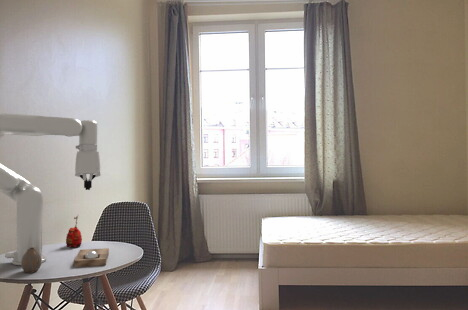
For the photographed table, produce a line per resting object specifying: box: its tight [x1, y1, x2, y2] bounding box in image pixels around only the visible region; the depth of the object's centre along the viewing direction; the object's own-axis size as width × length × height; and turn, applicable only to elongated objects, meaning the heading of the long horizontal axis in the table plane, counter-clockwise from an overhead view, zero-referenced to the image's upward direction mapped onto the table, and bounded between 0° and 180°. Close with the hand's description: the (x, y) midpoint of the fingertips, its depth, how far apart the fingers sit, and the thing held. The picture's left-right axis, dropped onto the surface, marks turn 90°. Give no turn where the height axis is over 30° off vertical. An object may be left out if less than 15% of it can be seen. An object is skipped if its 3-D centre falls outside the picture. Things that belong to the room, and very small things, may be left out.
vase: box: [20, 248, 42, 273], centre depth 154 cm, size 7×7×9 cm
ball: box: [85, 251, 98, 259], centre depth 165 cm, size 5×5×5 cm
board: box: [73, 247, 110, 268], centre depth 170 cm, size 12×18×2 cm, turn 14°
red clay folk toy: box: [65, 215, 83, 249], centre depth 193 cm, size 8×7×15 cm
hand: (87, 189), depth 179 cm, fingers closed
